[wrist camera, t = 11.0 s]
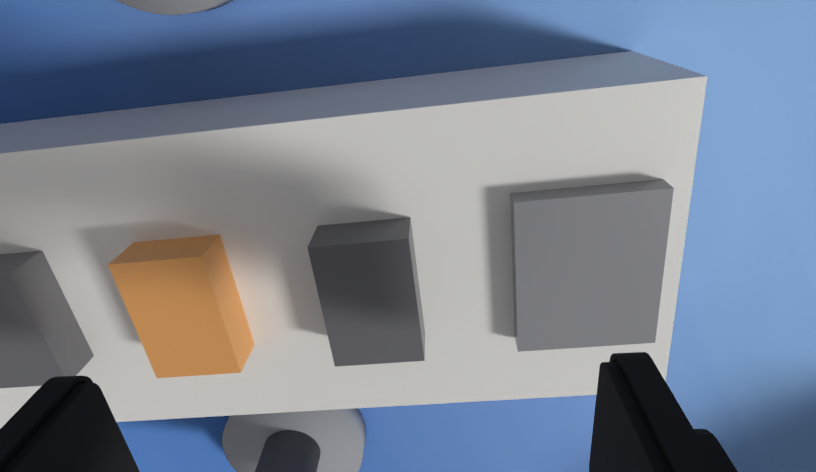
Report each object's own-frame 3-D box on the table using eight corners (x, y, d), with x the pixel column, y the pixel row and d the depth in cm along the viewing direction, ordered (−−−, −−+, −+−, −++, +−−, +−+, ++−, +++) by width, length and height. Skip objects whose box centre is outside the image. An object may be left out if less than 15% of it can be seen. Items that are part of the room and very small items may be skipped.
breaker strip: (-137, 137, 18) (-394, 207, 12) (628, 49, 16) (736, 85, 10) (-14, 343, 22) (-166, 466, 16) (610, 296, 19) (682, 422, 14)
